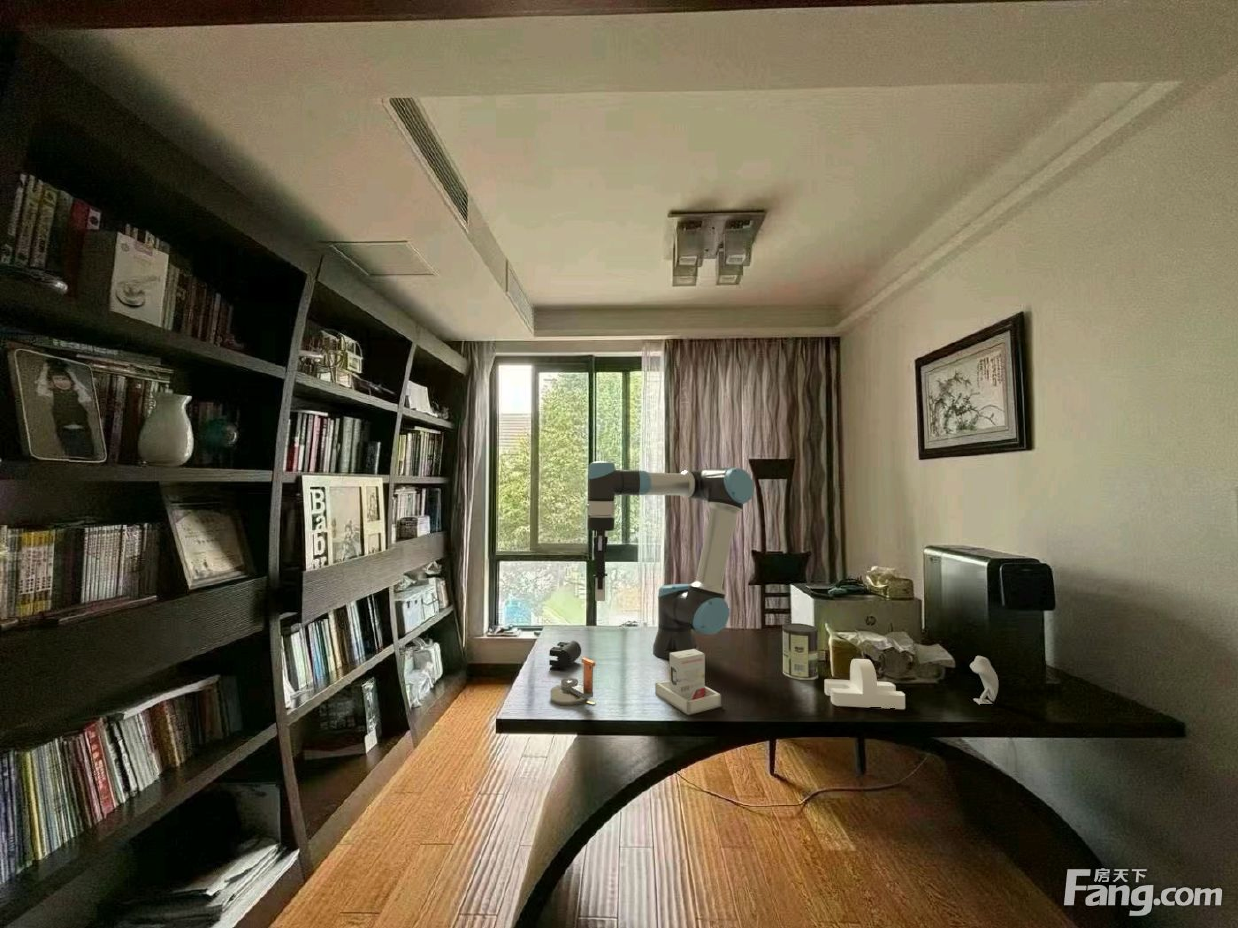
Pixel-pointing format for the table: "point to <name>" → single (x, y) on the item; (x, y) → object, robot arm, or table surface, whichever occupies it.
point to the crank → (587, 687)
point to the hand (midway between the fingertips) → (600, 600)
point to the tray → (688, 707)
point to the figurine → (985, 679)
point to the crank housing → (566, 697)
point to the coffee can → (800, 651)
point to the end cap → (564, 655)
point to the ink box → (687, 674)
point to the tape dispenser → (863, 689)
